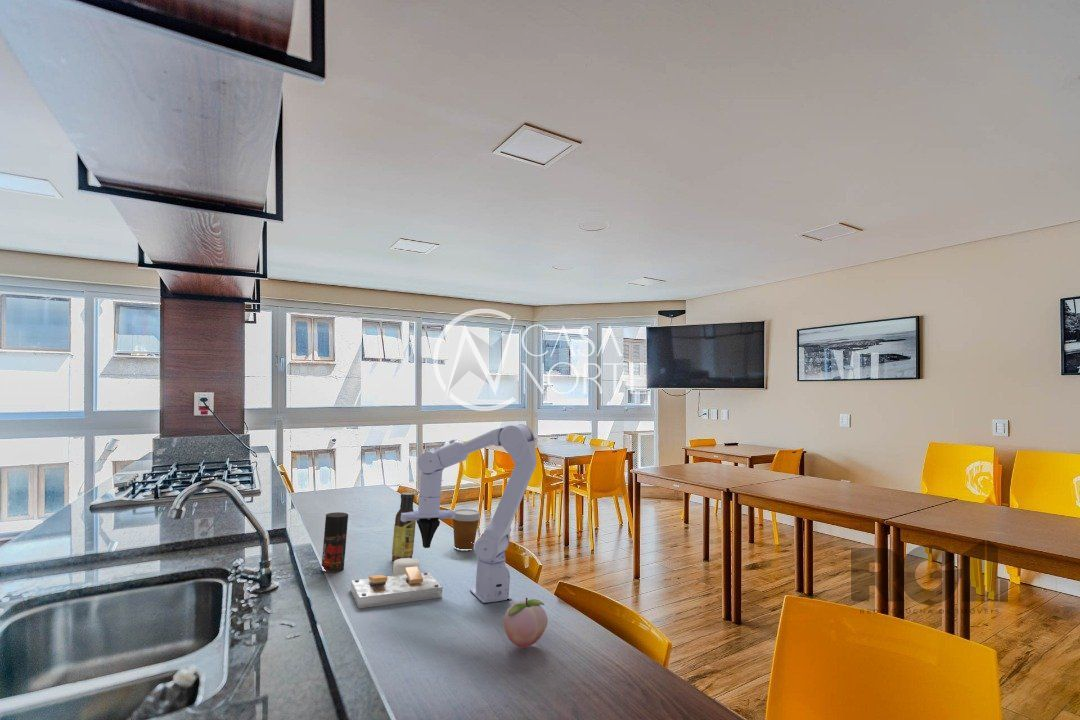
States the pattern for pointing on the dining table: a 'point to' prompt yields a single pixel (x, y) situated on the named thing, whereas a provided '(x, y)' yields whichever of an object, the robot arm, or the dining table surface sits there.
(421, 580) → the paddle
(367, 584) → the breaker panel
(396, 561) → the white egg-shaped stone
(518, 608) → the decorative fruit
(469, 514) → the disposable coffee cup
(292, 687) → the dining table surface
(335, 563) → the deodorant
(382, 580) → the paddle
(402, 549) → the sauce bottle
